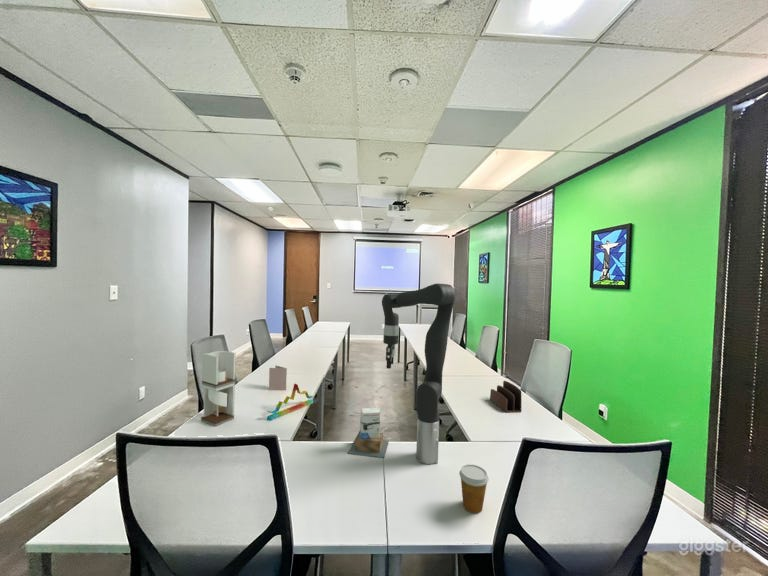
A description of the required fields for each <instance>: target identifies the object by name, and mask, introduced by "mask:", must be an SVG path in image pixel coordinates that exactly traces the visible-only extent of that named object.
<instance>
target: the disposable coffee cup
mask: <svg viewBox="0 0 768 576" xmlns="http://www.w3.org/2000/svg"><path fill="white" fill-rule="evenodd" d="M458 475H459V477H460V482H461V483H460V484H461V494H462V495H461V497H462V506H463V508H464V509H465V510H466V511H467V512H469V513H471V514H479V513H481V512H482V511H483V508H484V502H485V495H486V490H487V484H488V482H489V479H490V477H489V475H488V473H487V470H486V469H485V468H483V467H481V466H479V465H477V464H471V463H469V464H467V463H466V464H464V465H462V466H461V469H460V470H459V473H458Z"/></svg>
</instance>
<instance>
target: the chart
mask: <svg viewBox="0 0 768 576" xmlns="http://www.w3.org/2000/svg"><path fill="white" fill-rule="evenodd" d="M296 392H297V394H300V395H305V397H306V398H307V400H305V401H303V402H300V403H297V404H295V405H293V406H289V407H287V408H284V409H282V410H280V409H281V407H282V405H283V404H285V405H287V404H288V402H289V400H292V401H294V400H295V396H296ZM312 398H314V395H313V396H312V395H310V394H309V393H308V391H307V390H303V391H301V390H300V388H299V385H298V384H297V383H294V384H293V387H292V391H291V395H290V396H288V395H287V396H286V397H285V399H284V400H283V401H280V400H279V401H278V403H277V405H276V408H275V409H273V410H272V411H269V410H267V412H268V413H270V415H267V416H266V419H267V420H268V421H273V420H276V419H278V418H281V417H283V416H285V415H288V414H290V413H294V412H295V411H297V410H300V409H303V408H305V407H308V406H309V405H312V404H314V399H312Z"/></svg>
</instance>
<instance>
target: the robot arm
mask: <svg viewBox="0 0 768 576" xmlns="http://www.w3.org/2000/svg"><path fill="white" fill-rule="evenodd" d="M455 299H456V291H455V288H454V287H453V286H452V285H450V284H448V283H447V284H446V283H432V284H430V285H428V286H426V287H425V286H424V287H423V288H420V289H416V290H407V291H403V292H399V293H387V294H384V295H383V297H382V298H381V306H382V310H383V314H384V316H383V317H384V327H383V344H385V345H387V346H386V347H385V361H386V369H390V370H391V368H392V365H393V364H394V357H395V354H396V353H395V352H396V345H398V344H399V337H400V336H399V332H400V329H399V322H400V321H399V314H398V313H396V312H394V310H393V309H399V308H400V309H401V308H405V307H414V306H416V305H421V304H427V305H434V306H437V309H436V310H437V311H436V314H435V318H434V320H433V321H432V323H431V325H430V326H429V328H428V329H427V332H426V335H425V342H424V358H425V365H426V366H425V368H426V369H425V375H424V378H423V382H422V383H421V384H420V385H419V386H418V388H417V390H416V396H415V397H416V401H415V402H416V405H415V406H416V414H417V418H416V419H417V425H416V427H417V428H416V446H415V447H416V450H415V457H416V460H417V461H418V462H420V463H421V464H427V465H433V464H438V463H439V445H440V444H439V441H440V440H439V439H440V438H439V434H440V433H439V431H440V413H439V411H438V408H439V406H438V403H439V401H438V400H439V399H440V398H441V396H442V393H443V371H444V370H443V369H444V364H445V359H446V355H447V354H446V353H447V349H448V347H447V346H448V341H449V340H448V338H449V337H448V336H449V329H450V324H451V318H452V317H451V316H452V313H453V308H454V306H455V305H454V304H455Z"/></svg>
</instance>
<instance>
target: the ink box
mask: <svg viewBox="0 0 768 576" xmlns="http://www.w3.org/2000/svg"><path fill="white" fill-rule="evenodd" d="M359 431H360V436H361V439H367V438H379V437H380V433H381V410H380V408H379V407H364V408H363V407H362V408H361V409H360V422H359Z"/></svg>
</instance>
